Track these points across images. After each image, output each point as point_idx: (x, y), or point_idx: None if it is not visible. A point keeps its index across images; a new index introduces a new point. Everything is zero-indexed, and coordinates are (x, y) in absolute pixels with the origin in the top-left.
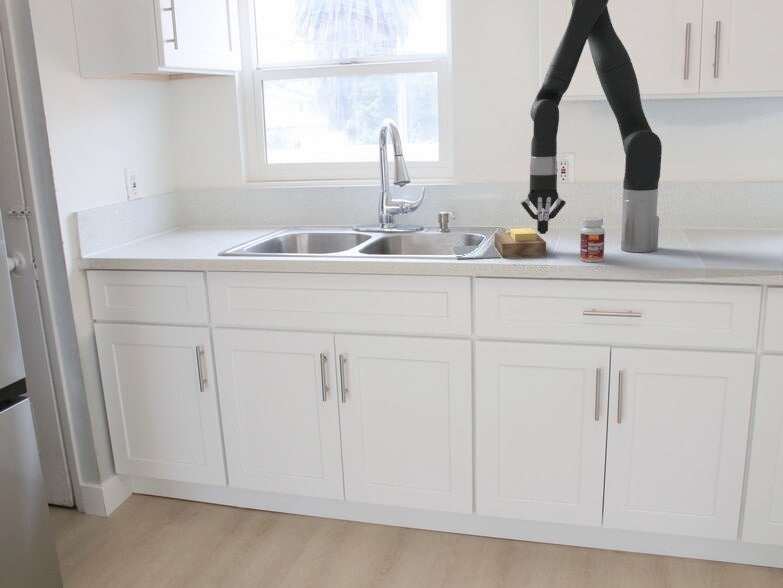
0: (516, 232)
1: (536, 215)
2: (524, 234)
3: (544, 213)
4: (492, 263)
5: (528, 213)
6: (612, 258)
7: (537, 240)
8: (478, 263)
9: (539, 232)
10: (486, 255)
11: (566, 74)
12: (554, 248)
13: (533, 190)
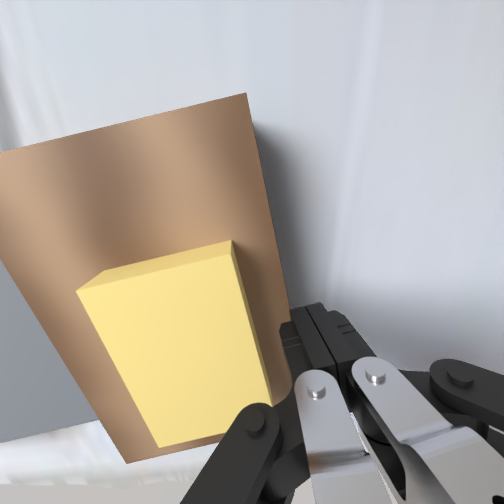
0: (156, 410)
1: (298, 480)
2: (210, 431)
3: (398, 432)
4: (136, 466)
5: (206, 487)
6: (499, 372)
7: (275, 390)
8: (92, 472)
9: (289, 311)
10: (79, 394)
11: None
12: (339, 219)
13: None
